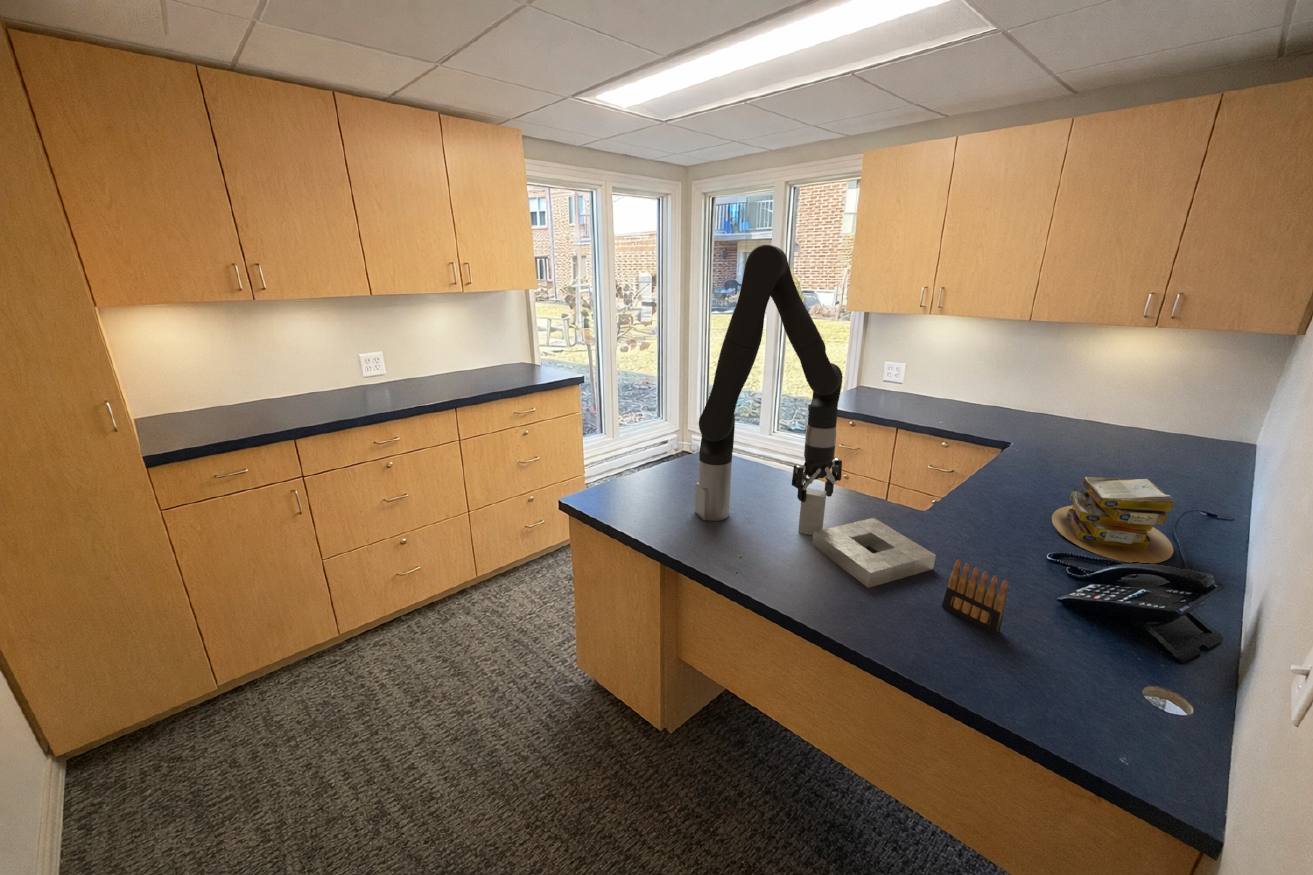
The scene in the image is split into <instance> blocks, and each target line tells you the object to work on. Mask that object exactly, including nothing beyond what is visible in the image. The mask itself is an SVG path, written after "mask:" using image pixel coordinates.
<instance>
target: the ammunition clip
mask: <svg viewBox="0 0 1313 875" xmlns="http://www.w3.org/2000/svg"><path fill="white" fill-rule="evenodd" d="M960 571H961V560H960V559H957V560H956V561H955V562H954V566H953V570H952V571H951V574H950V577H949V580H948V581H949V582H948V584H947V585H948V586H947V587H946V590H945V593H944V597H943V600H942V604H941V607H942V608H943V609H945V610H946V611H949V612H950V611H951V612H950V613H952V614H954V615H956V616H958V617H960V618H962V619H964V620H966V619H967V620H966V621H969V622H970V623H972V624H974V625H976V626H978V625H979V626H978V627H980V628H982V629H983V630H985V629H986V631H988V632H989V633H991V632H992V633H991V634H993V633H994V634H993V635H997V634H998V633H999V632H1000V631H1001V625H1002V620H1003V616H1004V609H1005V605H1006V601H1007V592H1008V584H1009V583H1008V580H1007V579H1004V580H1003V582H1002V583H1001V585H1000V587H999V590H998V593H997V586H998V576H997V575H996V574H995V575H994V576H992V579H991V580H990V582H989V586H988V589H987V584H988V578H989V577H988V571H987V570H984V571H983V573H982V574H981V576H980V579H979V568H978V567H977V566H975V567H974V569H973V571H972V572H971V575H970V579H969V574H970V564H969V563H968V562H966V563H965V565H964V567H963V569H962V572H961V574H960ZM978 579H979V583H978Z"/></svg>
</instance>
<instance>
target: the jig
mask: <svg viewBox="0 0 1313 875" xmlns="http://www.w3.org/2000/svg"><path fill="white" fill-rule="evenodd" d="M811 545H812V546H813V547H814V548H816V549H817V550H818V551H819V552H820V553H822V554H823V555H824V556H826V557H827V558H829V560H831V561H832V562H833V563H835V564H836V565H838V566H839V567H840V568H842V569H843V570H844V571H845V572H847V573H848V574H849V575H851V576H852V577H853V578H854V579H856V580H857V581H859V582H860V583H862V585H864V586H865V587H866V588H867V589H870V588H874V587H876V586H877V587H878V586H879V585H883V584H887V583H891V582H894V581H897V580H900V579H905V578H907V577H911V576H915V575H917V574H921V573H924V572H925V573H926V572H928V571H929V572H930V571H932V570H933V569H934V566H935V561H936V557H937V554H935V553H933V552H932V551H930V550H928V549H927V548H925V547H923V546H922V545H920V544H918V543H917V542H915V541H913V540H912V539H910V538H909V537H907V536H905V535H903V534H901V533H900V532H898V531H897V530H895V529H893V528H892V527H890V526H888V525H887V524H885V523H883V522H882V521H880V520H878V519H877V518H875V517H871V518H867V519H862V520H857V521H853V522H850V523H849V522H848V523H845V524H840V525H835V526H832V527H831V526H830V527H827V528H823V529H822V530H818V531H814V533H813V535H812V543H811ZM867 547H870V548H871V549H873V550H874V551H875V552H874V553H873V552H872V551H870V550H868V549H867Z"/></svg>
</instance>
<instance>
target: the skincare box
mask: <svg viewBox="0 0 1313 875" xmlns="http://www.w3.org/2000/svg"><path fill="white" fill-rule="evenodd" d="M806 490H807V492H806V502H801V501H800V510H799V511H800V512H799V520H798V529H797V530H798V533H799V534H804V535H811V536H813V533H814V531H818V530H822V529H824V519H825V509H826V500H827V496H826V491H825V490H823V489H822V490H821V489H815V488H809V487H807V488H806Z"/></svg>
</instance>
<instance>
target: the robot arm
mask: <svg viewBox="0 0 1313 875" xmlns="http://www.w3.org/2000/svg"><path fill="white" fill-rule="evenodd" d="M746 258H747V259H746V261H745V265H744V270H743V276H742V281H741V285H740V290H739V293H738V294H739V295H738V298H737V302H736V305H735V306H734V310H733V312H732V315H731V317H730V320H729V323H728V327H727V330H726V332H725V335H724V339H723V342H722V345H721V349H720V352H719V356H718V360H717V363H716V369H715V374H714V378H713V383H712V388H711V390H710V394H709V396H708V399H707V402H706V404H705V406H704V409H703V411H702V413H701V414H700V416H699V418H698V419H699V420H698V429H699V432H700V434H701V439H700V440H701V441H700V446H699V452H698V453H699V456H698V457H699V458H698V462H699V463H698V482H695V494H694V496H695V497H694V513H696V514H697V515H698V517H699V518H701V519H702V520H703V521H714V522H715V521H716V522H717V521H723V520H726V519H727V518H729V516H730V502H731V500H730V499H731V485H732V484H731V483H732V482H731V481H732V480H731V479H732V466H733V465H732V463H733V452H734V445H735V444H734V440H735V427H736V418H735V417H736V416H735V413H736V407H737V403H738V400H739V397H740V395H741V392H742V390H743V388H744V386H745V385H746V382H747V380H748V378H749V376H750V374H751V371H752V369H753V366H754V364H755V361H756V358H757V355H758V352H759V350H760V346H761V343H762V338H763V333H764V332H763V331H764V325H765V316H766V315H765V314H766V310H767V306H768V303H769V300H770V299H772V301H773V303H774V305H775V307H776V308H777V312H778V314H779V317H780V320H781V324H782V325H783V328H784V332H785V334H786V337H787V338H788V341H789V343H790V345H791V346H792V348H793V351H794V352H795V355H796V356H797V358H798V359H799V362H800V364H801V365H800V366H801V368H802V370H803V375H804V377H805V380H806V383H807V384H808V386H809V387H810V389H811V391H812V400H811V402H810V404H809V407H808V416H807V425H806V426H807V427H806V430H805V437H804V438H805V439H804V440H805V441H804V450H803V451H804V452H803V456H804V461H805V462H804V464H803V465H799V464H794V466H793V468H792V469H793V470H792V479H791V486H792V487H794V488H796V489H797V495H796V496H797V499H798V501H800V503H801V502H806V492H807V490H806V488H809V485H811V484H812V483H813V482H814V481H815V480H819V479H825V480H826V481H825V482H824V491H826V497H829V498H830V497H832V495H833V494H834V489H835V488H834V486H835V484H836V482H837V481H838V482H840V481H841V480H842V473H843V472H842V471H843V470H842V469H843V460H842V459H840V458H837V457H835V455H836V454H835V452H836V442H837V419H838V406H839V401H840V397H841V391H842V386H843V372H842V370H841V368H840V367H839V366H838V365H837V364H835V363H832V362H831V361H830V358H829V357H828V355H827V352H826V350H827V348H826V344H825V341H824V340H823V337H822V336H821V334H820V331H819V329H818V328H817V326H816V324H815V322H814V320H813V318H812V317H811V315H810V313H809V311H808V309H807V308H806V305H805V304H804V302H803V300H802V298H801V296H800V293H799V291H798V288H797V287H796V286H797V285H796V283H795V281H794V278H793V274H792V270H791V267H790V264H789V260H788V257H787V254H786V253H785V251H783V249H781V248H780V247H777V246H775V245H772V244H767V243H765V244H759V245H758V246H755V248H754V249H752V250H751V252H750V253H749V254H748V256H747V257H746ZM807 476H808V477H807Z"/></svg>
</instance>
